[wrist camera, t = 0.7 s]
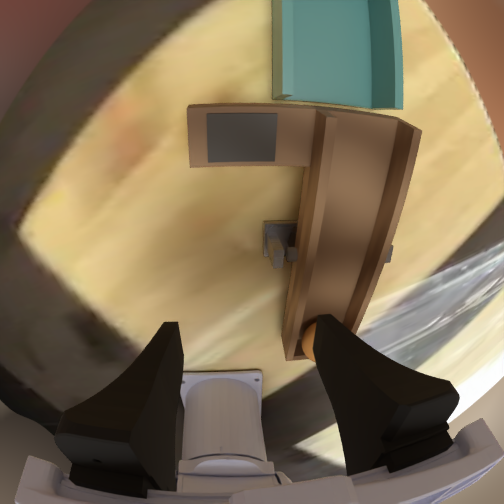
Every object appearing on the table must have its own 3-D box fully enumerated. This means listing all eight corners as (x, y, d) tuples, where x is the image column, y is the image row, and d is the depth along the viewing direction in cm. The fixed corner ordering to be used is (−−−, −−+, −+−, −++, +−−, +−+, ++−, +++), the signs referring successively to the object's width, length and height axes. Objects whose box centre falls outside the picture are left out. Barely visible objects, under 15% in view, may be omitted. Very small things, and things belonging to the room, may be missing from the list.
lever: (344, 329, 25) (352, 352, 23) (209, 338, 24) (209, 365, 22) (404, 118, 14) (430, 132, 12) (189, 104, 13) (182, 115, 11)
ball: (332, 333, 24) (341, 367, 22) (295, 336, 24) (302, 372, 21) (342, 311, 22) (354, 347, 19) (301, 314, 21) (310, 353, 19)
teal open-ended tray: (376, 109, 18) (402, 109, 15) (272, 99, 18) (282, 94, 14) (371, -9, 14) (394, -25, 11) (271, -27, 13) (280, -50, 10)
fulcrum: (369, 249, 22) (390, 270, 19) (263, 253, 22) (270, 277, 19) (373, 220, 22) (396, 237, 18) (263, 221, 21) (271, 240, 18)
